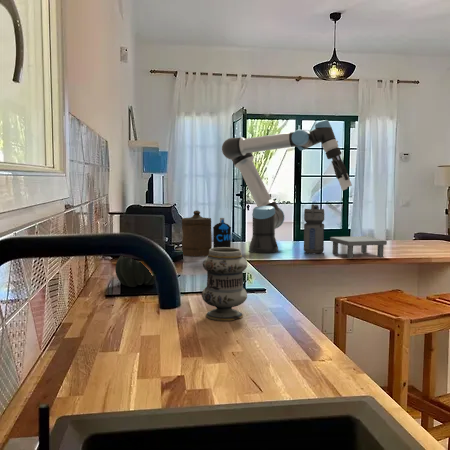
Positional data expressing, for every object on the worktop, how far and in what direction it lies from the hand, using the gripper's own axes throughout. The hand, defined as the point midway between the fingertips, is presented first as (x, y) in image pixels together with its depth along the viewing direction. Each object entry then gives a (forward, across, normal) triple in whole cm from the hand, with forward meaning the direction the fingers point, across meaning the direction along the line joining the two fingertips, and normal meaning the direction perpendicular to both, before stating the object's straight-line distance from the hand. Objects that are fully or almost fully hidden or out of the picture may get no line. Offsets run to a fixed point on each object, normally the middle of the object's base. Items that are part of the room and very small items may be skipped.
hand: (347, 188), depth 246 cm
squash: (+11, -85, +95) cm, 128 cm away
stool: (+33, -4, +8) cm, 34 cm away
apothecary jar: (+27, -121, +66) cm, 140 cm away
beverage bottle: (+25, +2, +27) cm, 37 cm away
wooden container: (+6, -11, +83) cm, 84 cm away
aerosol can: (+14, -34, +70) cm, 79 cm away
